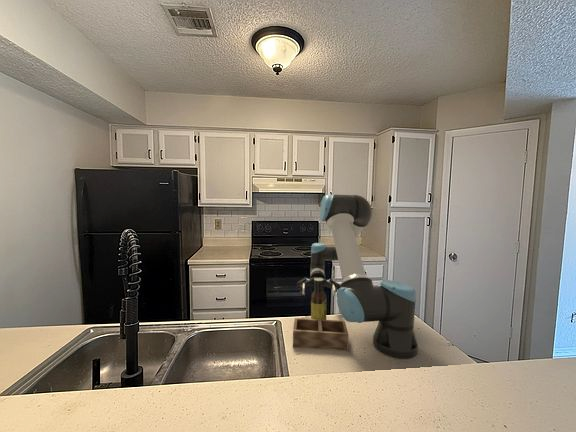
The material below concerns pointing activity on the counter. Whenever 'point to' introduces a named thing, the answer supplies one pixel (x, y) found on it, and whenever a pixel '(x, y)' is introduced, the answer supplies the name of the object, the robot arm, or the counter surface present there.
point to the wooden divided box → (320, 334)
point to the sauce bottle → (318, 300)
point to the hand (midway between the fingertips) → (318, 292)
